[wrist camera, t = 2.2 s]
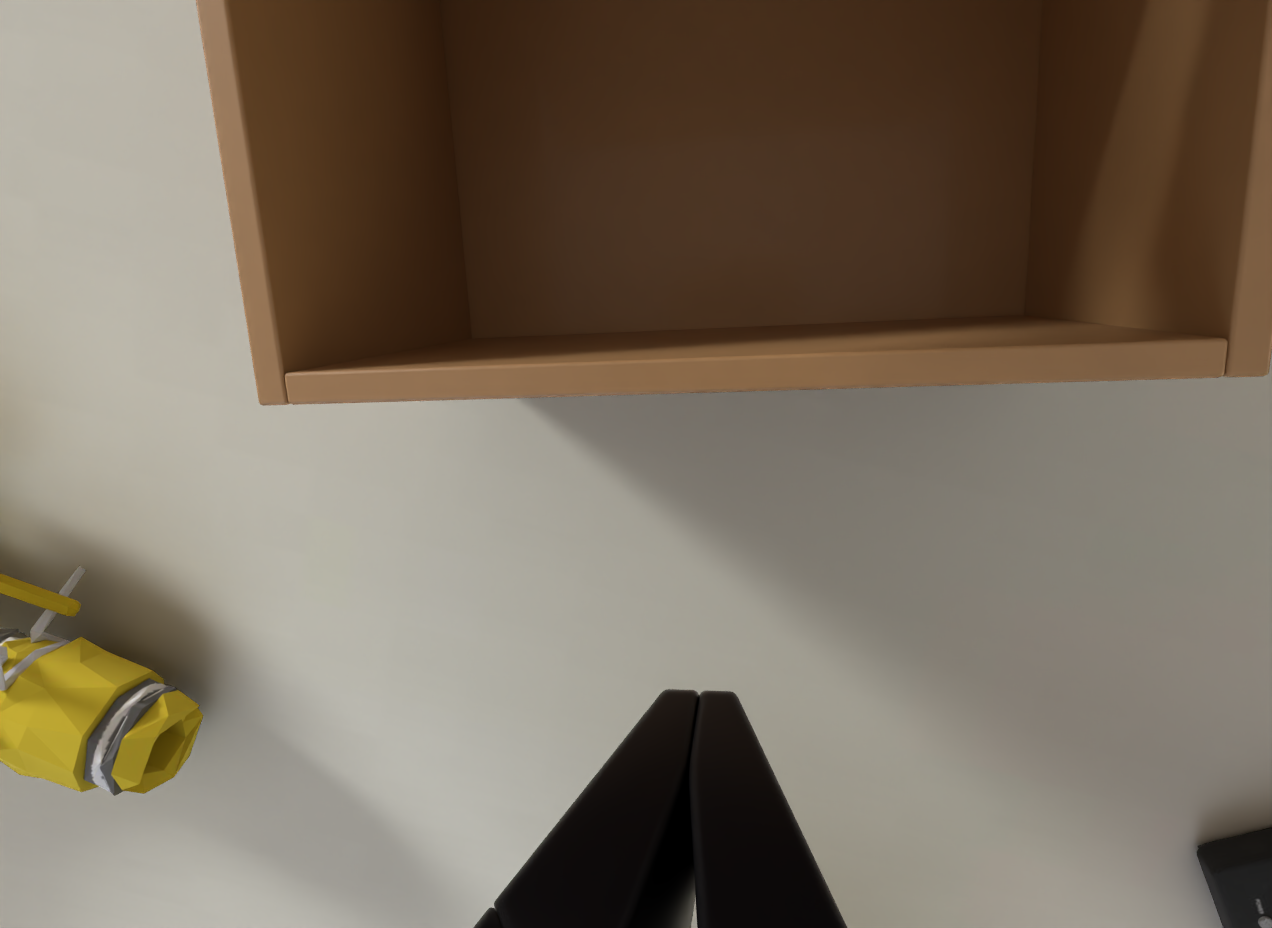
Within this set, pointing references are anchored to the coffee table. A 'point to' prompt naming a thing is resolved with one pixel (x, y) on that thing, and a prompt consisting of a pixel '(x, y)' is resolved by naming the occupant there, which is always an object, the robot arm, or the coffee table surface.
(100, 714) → the sprinkler
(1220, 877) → the handheld gaming console
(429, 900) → the coffee table surface
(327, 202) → the carton
